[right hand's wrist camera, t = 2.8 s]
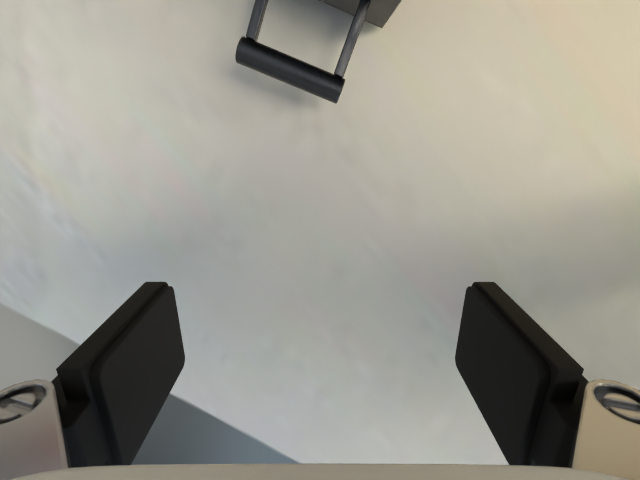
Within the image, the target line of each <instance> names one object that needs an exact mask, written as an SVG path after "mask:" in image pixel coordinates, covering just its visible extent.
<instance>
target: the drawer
mask: <svg viewBox="0 0 640 480" xmlns="http://www.w3.org/2000/svg"><path fill="white" fill-rule="evenodd" d="M320 1H322V2H324V3H327V4H329V5H331V6H333V7H336V8H338V9H340V10H342V11H345V12H347V13H349V14H351V15H353V16H354V19H353V22H352V25H351V27H350V30H349V33H348V36H347V39H346V41H345V44H344V47H343V50H342V53H341V55H340V58H339V61H338V64H337V66H336V69H335V72H334V74H331V73H329V72H327V71H324V70H322V69H320V68H317V67H315V66H313V65H310V64H308V63H305V62H303V61H301V60H298V59H296V58H294V57H291V56H289V55H287V54H284V53H282V52H279V51H277V50H275V49H272V48H270V47H268V46H265V45H263V44H261V43H258V42H256V41H257V39H258V35H259V32H260V28H261V24H262V21H263V17H264V14H265V10H266V6H267V3H268V0H255V4H254V7H253V11H252V15H251V19H250V22H249V26H248V30H247V33H246V37H247V38H246V37H244V36H243V37H241V39H240V41H239V43H238V46H237V50H236V62H237V63H239V64H241V65H244V66H246V67H249V68H251V69H253V70H256V71H258V72H261V73H263V74H266V75H268V76H270V77H273V78H275V79H278V80H280V81H283V82H285V83H287V84H290V85H292V86H295V87H297V88H300V89H302V90H304V91H307V92H309V93H312V94H314V95H316V96H319V97H321V98H324V99H326V100H329V101H331V102H333V103H337V101H338V99H339V96H340V94H341V91H342V88H343V86H344V83H345V79H343V76H344V73H345V70H346V68H347V65H348V62H349V59H350V57H351V54H352V51H353V49H354V46H355V43H356V40H357V38H358V35H359V32H360V30H361V27H362V24H363V21H364V20H365V21H367V22H369V23H371V24H374V25H376V26H378V27H380V28H382V27H383V26H384V25H385V23H386V22H387V20H388V19H389V17H390V16H391V15H392V13H393V12H394V10H395V9H396V7H397V6H398V5H399V3H400V2H401V0H320Z"/></svg>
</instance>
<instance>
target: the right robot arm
mask: <svg viewBox="0 0 640 480" xmlns="http://www.w3.org/2000/svg"><path fill="white" fill-rule="evenodd" d="M184 362H185V354H184V348H183V342H182V336H181V330H180V324H179V318H178V312H177V306H176V300H175V294H174V289H173V287H171V286H168V284H167V283H166V282H146V283H144V284H143V285H142V286H141V287H140V288H139V289H138V290H137V291H136V292H135V293H134V294H133V295H132V296H131V297H130V298H129V299H128V300H127V301H126V302H125V303H124V304H123V305H121V306H120V307H119V308H118V309H117V310H116V311H115V312H114V313H113V314H112V315H111V316H110V317H109V318H108V319H107V320H106V321H105V322H104V323H103V324H102V325H101V326H100V327H99V328H98V329H97V330H96V331H95V332H94V333H93V334H92V335H91V336H90V337H89V338H88V339H87V340H86V341H85V342H84V343H82V344H81V345H80V346H79V347H78V348H77V349H76V350H75V351H74V352H73V353H72V354H71V355H70V356H69V357H68V358H67V359H66V360H65V361H64V362H63V363H62V364H61V365H60V366H59V367H58V368H57V369H56V370H57V373H58V376H57V377H56V378H55V379H54V380H53V381H52V382H49V381H47V380H38V379H37V380H30V381H24V382H21V383H18V384H14V385H12V386H10V387H7V388H5V389H3V390H1V391H0V480H640V391H639V390H637V389H635V388H633V387H630V386H628V385H626V384H622V383H619V382H616V381H610V380H604V379H602V380H593V381H591V382H588V381H587V380H586V379H585V378H584V377H583V376H582V373H583V370H584V369H583V368H582V367H581V366H580V365H579V364H578V363H577V362H576V361H575V360H574V359H573V358H572V357H571V356H570V355H569V354H568V353H567V352H566V351H565V350H564V349H563V348H562V347H561V346H560V345H559V344H558V343H556V342H555V341H554V340H553V339H552V338H551V337H550V336H549V335H548V334H547V333H546V332H545V331H544V330H543V329H542V328H541V327H540V326H539V325H538V324H537V323H536V322H535V321H534V320H533V319H532V318H531V317H530V316H529V315H528V314H527V313H526V312H525V311H524V310H523V309H522V308H521V307H520V306H519V305H517V304H516V303H515V302H514V301H513V300H512V299H511V298H510V297H509V296H508V295H507V294H506V293H505V292H504V291H503V290H502V289H501V288H500V287H499V286H498V285H497V284H496V283H494V282H474V283H473V284H472V286H469V287H467V289H466V294H465V300H464V306H463V312H462V318H461V324H460V330H459V336H458V342H457V348H456V354H455V362H456V366H457V369H458V370H459V372H460V374H461V376H462V378H463V380H464V382H465V384H466V385H467V387H468V389H469V391H470V393H471V395H472V397H473V398H474V400H475V402H476V404H477V406H478V408H479V410H480V411H481V413H482V415H483V417H484V419H485V421H486V423H487V425H488V426H489V428H490V430H491V432H492V434H493V436H494V438H495V439H496V441H497V443H498V445H499V447H500V449H501V451H502V453H503V454H504V456H505V458H506V460H507V462H508V463H509V465H468V464H172V465H131V463H132V462H133V460H134V458H135V456H136V454H137V453H138V451H139V449H140V447H141V445H142V443H143V441H144V439H145V438H146V436H147V434H148V432H149V430H150V428H151V426H152V425H153V423H154V421H155V419H156V417H157V415H158V413H159V411H160V410H161V408H162V406H163V404H164V402H165V400H166V398H167V396H168V395H169V393H170V391H171V389H172V387H173V385H174V384H175V382H176V380H177V378H178V376H179V374H180V372H181V370H182V369H183V366H184Z"/></svg>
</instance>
